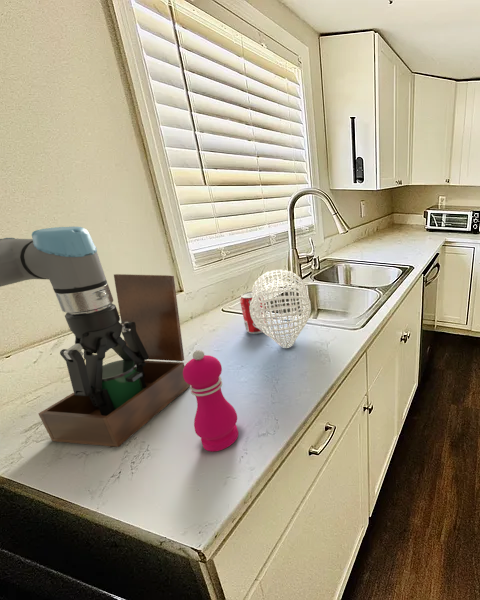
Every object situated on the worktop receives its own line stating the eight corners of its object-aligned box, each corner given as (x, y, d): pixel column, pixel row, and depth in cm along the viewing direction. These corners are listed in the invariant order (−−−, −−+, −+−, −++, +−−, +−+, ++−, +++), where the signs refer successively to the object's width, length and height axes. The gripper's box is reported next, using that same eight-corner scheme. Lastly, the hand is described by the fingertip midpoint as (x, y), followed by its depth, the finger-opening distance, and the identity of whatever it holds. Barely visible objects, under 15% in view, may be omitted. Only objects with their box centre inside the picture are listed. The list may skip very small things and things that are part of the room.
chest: (118, 447, 63) (106, 418, 60) (52, 441, 64) (37, 413, 62) (190, 385, 81) (183, 362, 78) (137, 382, 82) (129, 359, 80)
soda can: (255, 337, 105) (247, 299, 100) (241, 331, 109) (234, 295, 104) (273, 328, 111) (267, 293, 106) (260, 324, 114) (254, 289, 110)
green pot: (90, 417, 69) (73, 378, 66) (122, 395, 76) (108, 358, 73) (133, 421, 68) (118, 380, 65) (162, 398, 75) (150, 360, 72)
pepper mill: (219, 458, 60) (193, 365, 53) (191, 448, 62) (162, 357, 55) (249, 431, 66) (229, 344, 59) (222, 422, 68) (200, 338, 61)
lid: (171, 275, 74) (173, 275, 75) (113, 274, 75) (116, 274, 76) (181, 361, 78) (184, 360, 79) (127, 358, 79) (130, 357, 80)
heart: (261, 331, 109) (249, 267, 101) (308, 324, 114) (301, 262, 106) (258, 377, 84) (243, 296, 76) (319, 365, 89) (310, 288, 81)
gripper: (49, 331, 54) (97, 439, 62) (149, 291, 73) (176, 378, 81) (10, 329, 55) (62, 436, 63) (119, 290, 73) (148, 376, 82)
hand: (126, 403), depth 72 cm, fingers closed on green pot, 7 cm apart
